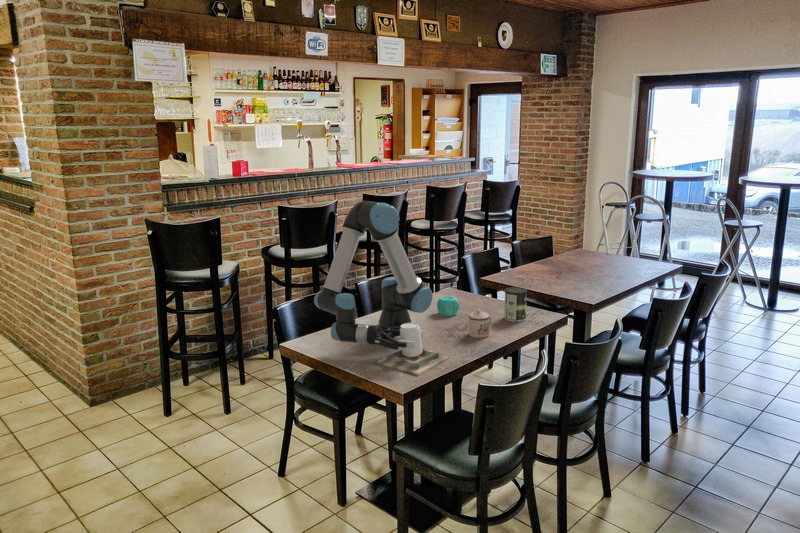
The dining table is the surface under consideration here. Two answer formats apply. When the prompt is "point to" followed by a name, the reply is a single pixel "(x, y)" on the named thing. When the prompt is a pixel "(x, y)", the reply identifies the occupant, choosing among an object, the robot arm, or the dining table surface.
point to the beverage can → (411, 338)
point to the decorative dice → (448, 305)
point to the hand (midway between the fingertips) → (420, 339)
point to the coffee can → (515, 304)
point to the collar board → (413, 361)
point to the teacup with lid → (479, 324)
